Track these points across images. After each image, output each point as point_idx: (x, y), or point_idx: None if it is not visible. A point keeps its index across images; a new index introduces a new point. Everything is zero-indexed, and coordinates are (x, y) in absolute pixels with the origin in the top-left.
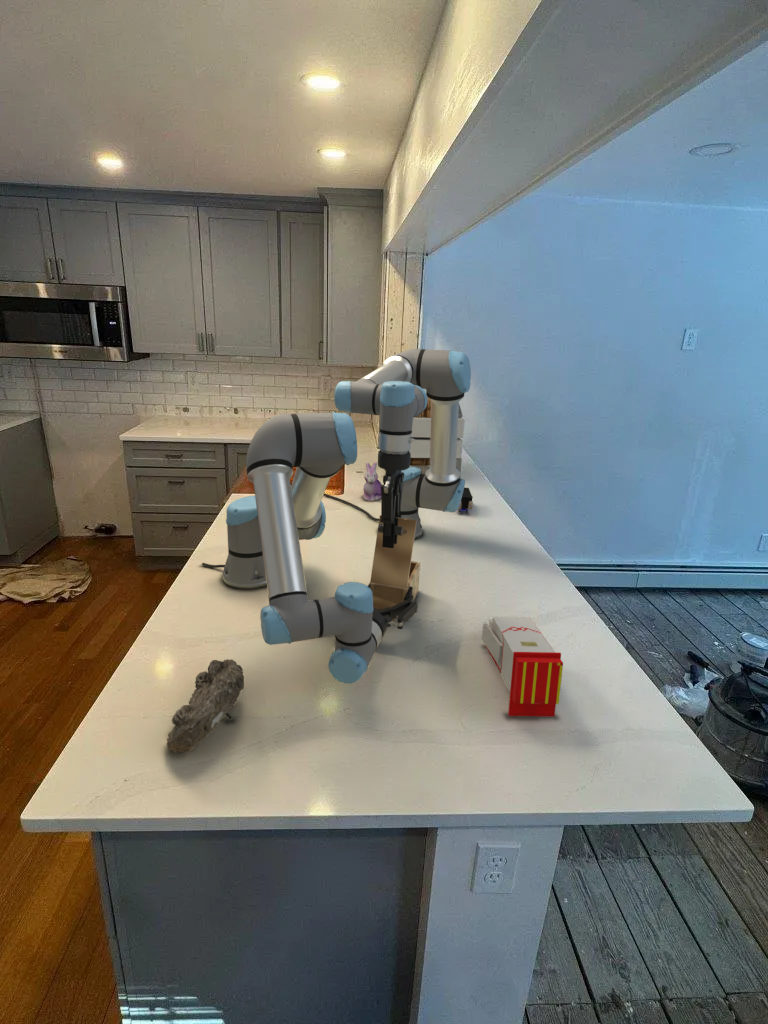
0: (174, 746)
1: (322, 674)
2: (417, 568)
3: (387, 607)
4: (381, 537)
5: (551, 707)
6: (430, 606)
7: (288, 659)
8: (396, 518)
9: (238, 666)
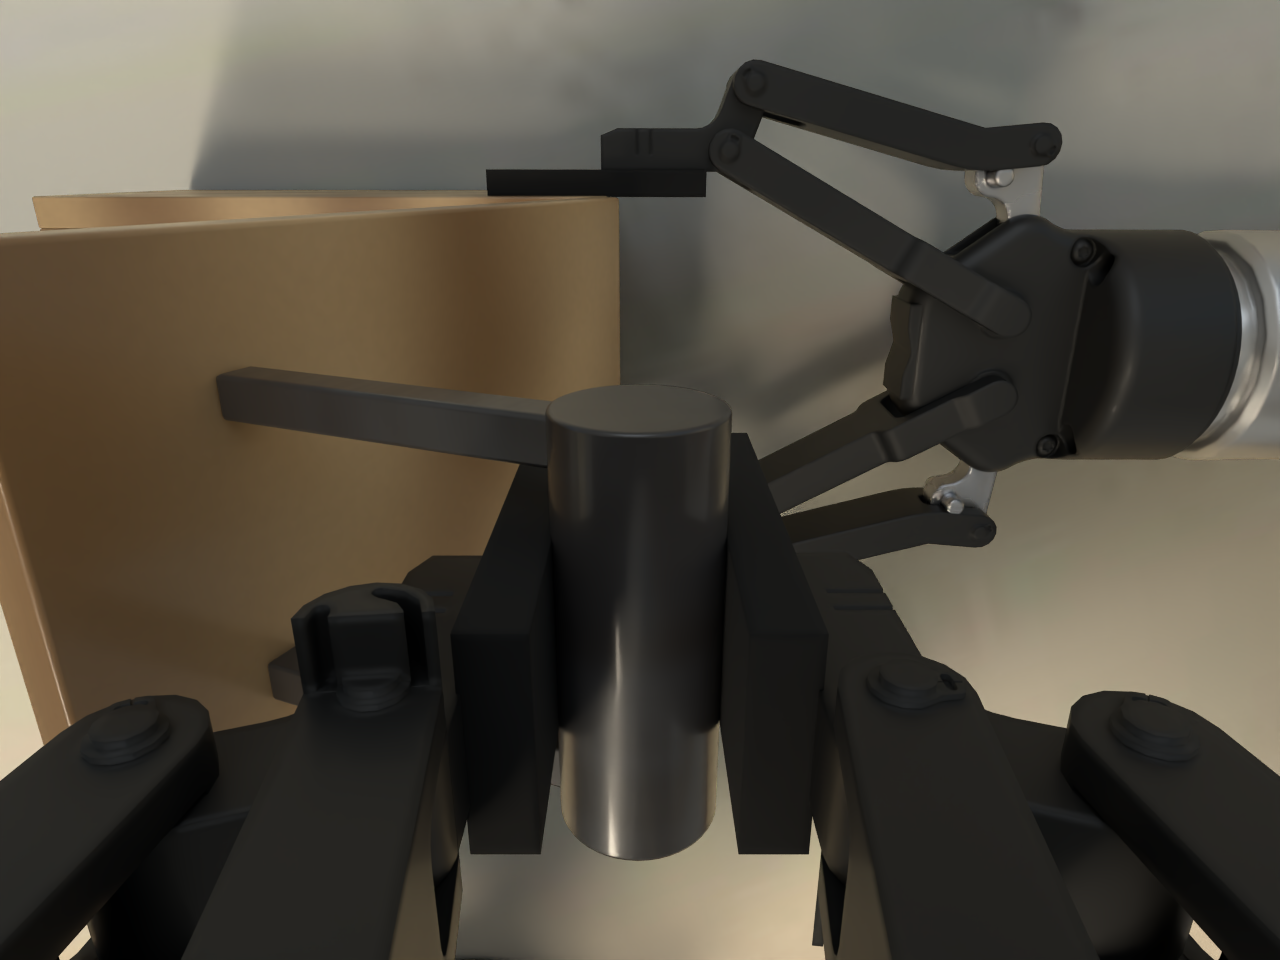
0: None
1: (1254, 474)
2: (168, 196)
3: (922, 283)
4: None
5: None
6: (361, 49)
7: (1148, 654)
8: (486, 666)
9: None
